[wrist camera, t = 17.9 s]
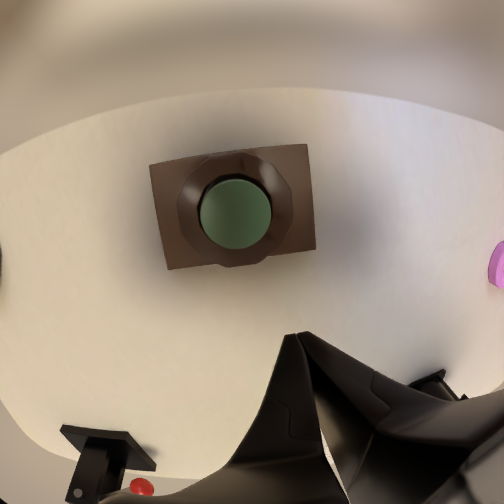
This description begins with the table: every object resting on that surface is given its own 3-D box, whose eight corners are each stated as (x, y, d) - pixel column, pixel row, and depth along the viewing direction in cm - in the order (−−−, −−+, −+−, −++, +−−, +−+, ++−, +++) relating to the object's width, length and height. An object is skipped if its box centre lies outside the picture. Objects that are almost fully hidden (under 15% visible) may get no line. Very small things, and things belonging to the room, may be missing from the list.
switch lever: (142, 471, 22) (150, 488, 20) (153, 480, 23) (161, 497, 20) (74, 491, 17) (78, 508, 14) (88, 500, 18) (93, 516, 15)
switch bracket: (127, 431, 25) (107, 510, 14) (156, 464, 28) (147, 532, 16) (62, 424, 25) (35, 485, 13) (93, 457, 28) (76, 513, 16)
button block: (299, 146, 18) (316, 140, 14) (307, 241, 20) (325, 258, 16) (157, 165, 18) (139, 164, 14) (173, 260, 20) (161, 280, 16)
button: (262, 174, 15) (267, 175, 13) (270, 236, 16) (274, 244, 14) (198, 183, 15) (195, 185, 13) (208, 245, 16) (205, 254, 14)
